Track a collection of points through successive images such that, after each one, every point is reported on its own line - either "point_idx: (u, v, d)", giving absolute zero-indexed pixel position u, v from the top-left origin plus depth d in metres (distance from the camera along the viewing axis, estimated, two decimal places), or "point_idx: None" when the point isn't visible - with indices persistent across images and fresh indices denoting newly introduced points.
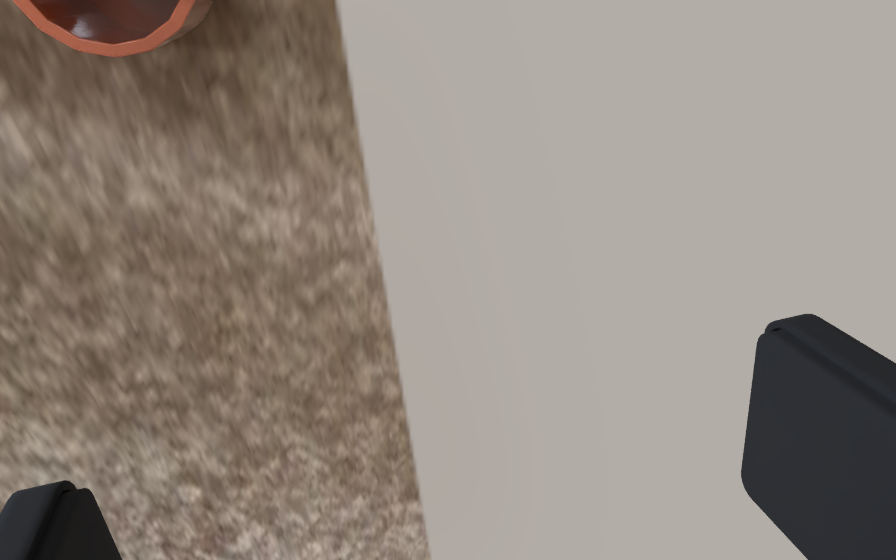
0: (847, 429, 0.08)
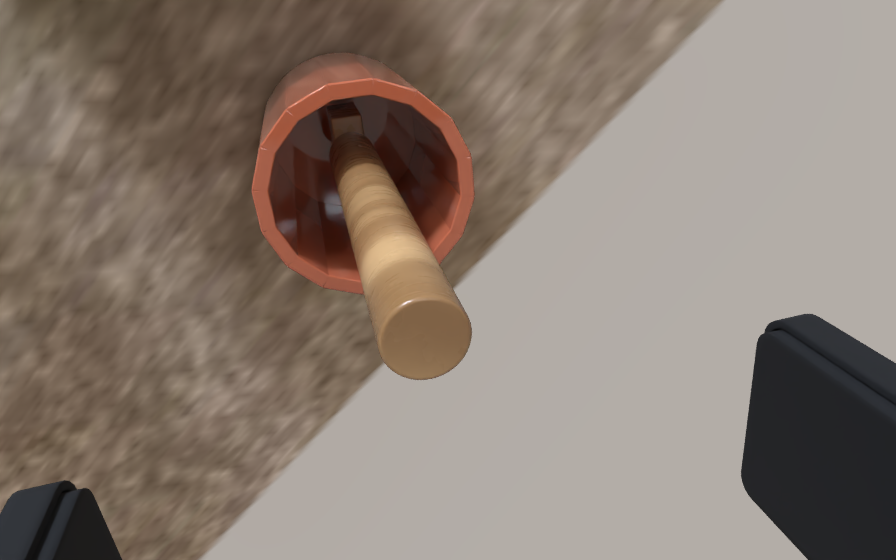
0: (847, 429, 0.08)
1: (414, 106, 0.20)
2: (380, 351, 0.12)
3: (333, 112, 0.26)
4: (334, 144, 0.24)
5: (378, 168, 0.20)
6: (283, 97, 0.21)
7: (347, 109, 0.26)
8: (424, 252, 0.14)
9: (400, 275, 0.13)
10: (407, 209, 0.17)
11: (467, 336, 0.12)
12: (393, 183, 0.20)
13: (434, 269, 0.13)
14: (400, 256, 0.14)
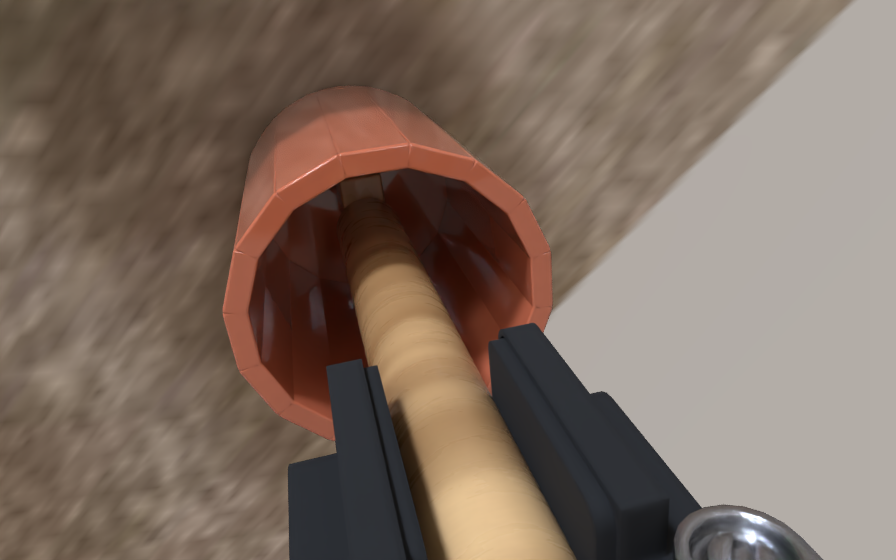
0: (527, 432, 0.08)
1: (470, 183, 0.13)
2: None
3: None
4: (344, 217, 0.18)
5: (415, 273, 0.13)
6: (271, 162, 0.15)
7: None
8: (543, 527, 0.07)
9: None
10: (475, 370, 0.10)
11: None
12: (440, 302, 0.13)
13: None
14: (503, 554, 0.07)
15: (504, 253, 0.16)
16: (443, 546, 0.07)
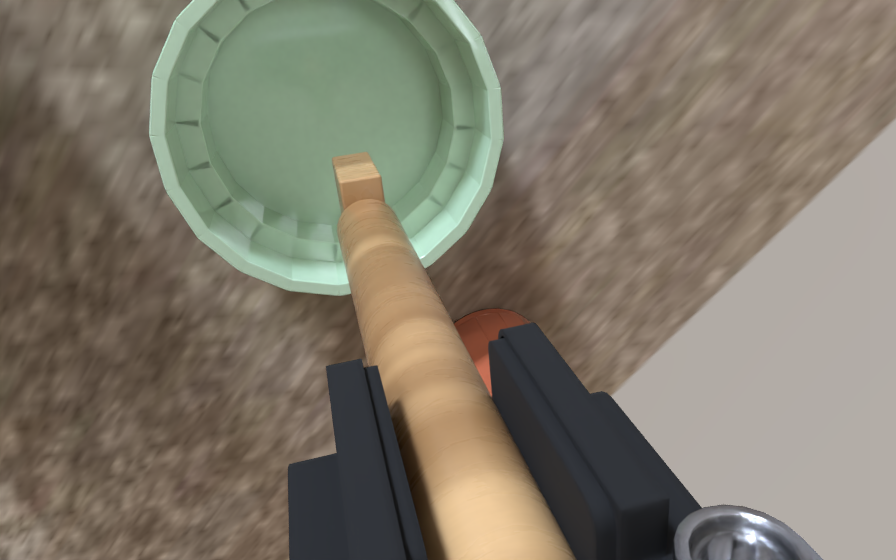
0: (527, 432, 0.08)
1: None
2: None
3: (342, 169, 0.19)
4: (344, 218, 0.18)
5: (415, 275, 0.13)
6: None
7: (360, 164, 0.19)
8: (543, 529, 0.07)
9: None
10: (475, 371, 0.10)
11: None
12: (441, 303, 0.13)
13: None
14: (504, 556, 0.07)
15: None
16: (444, 548, 0.07)
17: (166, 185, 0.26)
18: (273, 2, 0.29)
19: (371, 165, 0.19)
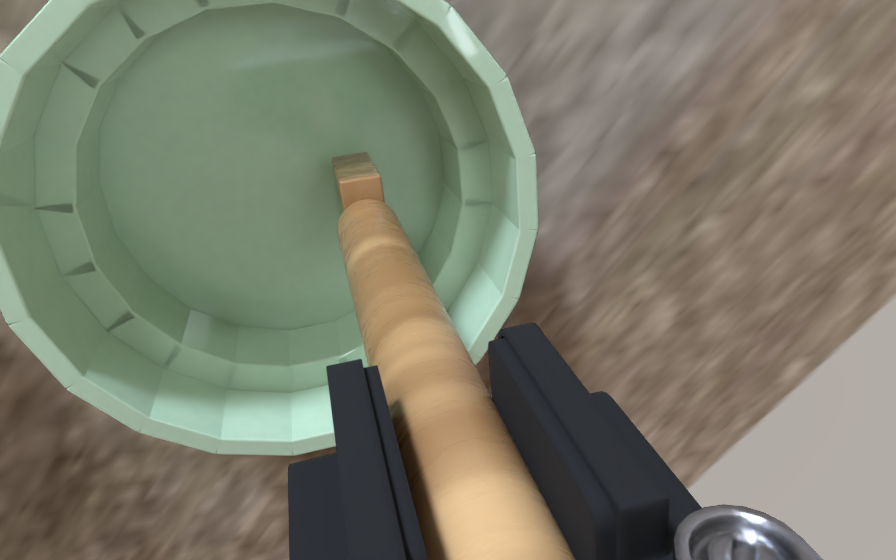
0: (527, 431, 0.08)
1: None
2: None
3: (341, 169, 0.19)
4: (344, 218, 0.18)
5: (415, 275, 0.13)
6: None
7: (360, 164, 0.19)
8: (543, 529, 0.07)
9: None
10: (475, 371, 0.10)
11: None
12: (440, 303, 0.13)
13: None
14: (503, 556, 0.07)
15: None
16: (443, 548, 0.07)
17: (7, 316, 0.16)
18: (192, 21, 0.19)
19: (371, 165, 0.19)
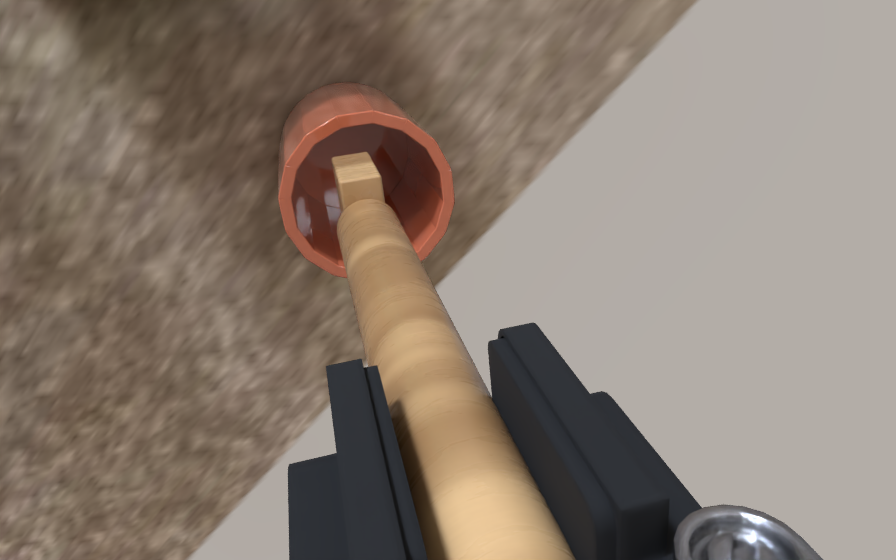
0: (527, 432, 0.08)
1: (405, 131, 0.25)
2: None
3: (341, 169, 0.19)
4: (344, 218, 0.18)
5: (415, 275, 0.13)
6: (301, 124, 0.27)
7: (360, 164, 0.19)
8: (543, 529, 0.07)
9: None
10: (475, 371, 0.10)
11: None
12: (440, 303, 0.13)
13: None
14: (503, 556, 0.07)
15: (432, 176, 0.28)
16: (443, 548, 0.07)
17: None
18: None
19: (371, 165, 0.19)
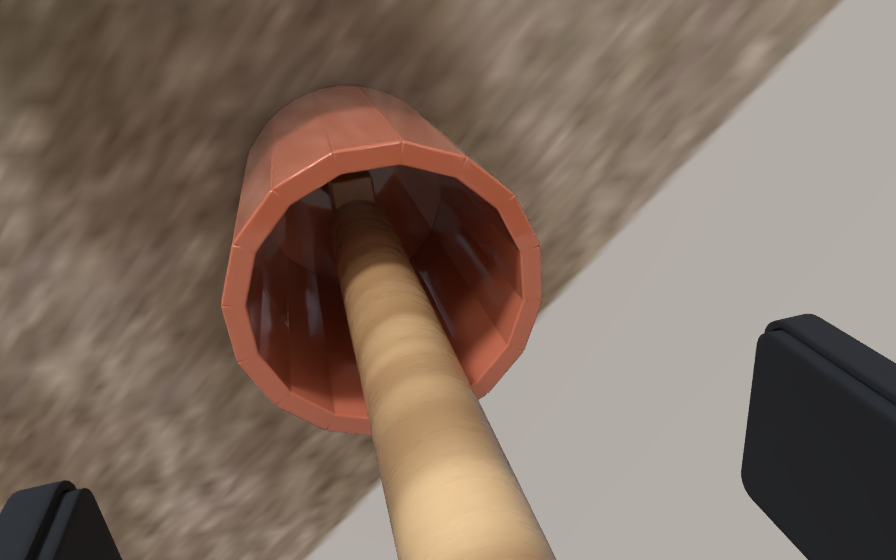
0: (847, 429, 0.08)
1: (461, 179, 0.13)
2: None
3: None
4: (336, 218, 0.18)
5: (403, 273, 0.14)
6: (268, 160, 0.15)
7: None
8: (514, 510, 0.08)
9: None
10: (457, 365, 0.11)
11: None
12: (427, 300, 0.13)
13: None
14: (475, 534, 0.07)
15: (496, 248, 0.16)
16: (420, 528, 0.08)
17: None
18: None
19: None
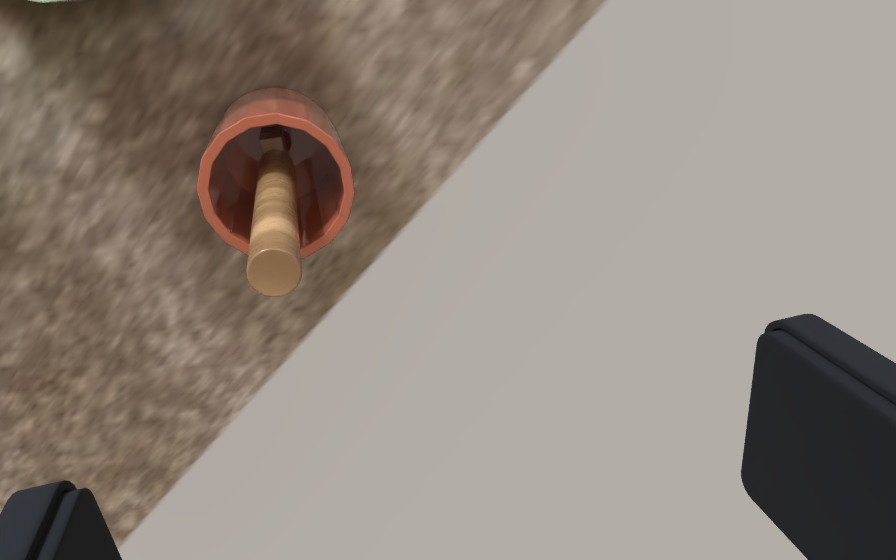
0: (847, 429, 0.08)
1: (307, 131, 0.29)
2: (248, 279, 0.21)
3: (263, 134, 0.35)
4: (261, 158, 0.34)
5: (282, 175, 0.30)
6: (221, 124, 0.31)
7: (273, 132, 0.36)
8: (285, 226, 0.23)
9: (263, 238, 0.22)
10: (290, 202, 0.27)
11: (298, 271, 0.22)
12: (290, 186, 0.29)
13: (286, 235, 0.23)
14: (268, 228, 0.23)
15: None
16: (254, 232, 0.23)
17: None
18: None
19: (279, 132, 0.35)
